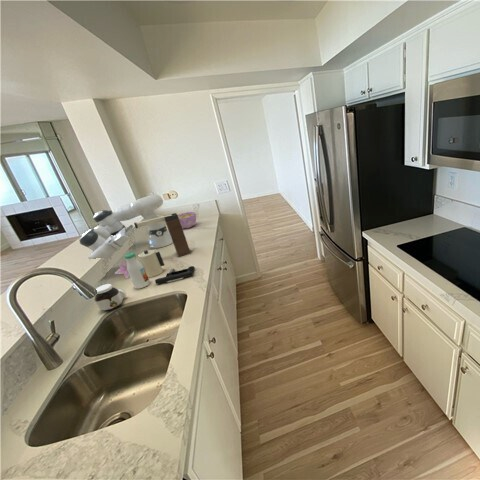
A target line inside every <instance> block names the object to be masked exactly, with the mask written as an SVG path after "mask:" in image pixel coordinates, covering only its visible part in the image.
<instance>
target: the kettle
mask: <svg viewBox="0 0 480 480" xmlns="http://www.w3.org/2000/svg"><path fill="white" fill-rule="evenodd" d="M137 257H138V258H136V259H137V260H138V261H139V262H140V263H141V264H142V265H143V267H144V269H145V271H146V274H147V276H148V278H151V277H152V278H153V277H156V276H159V275H160V274H162V273H163V272H164V271H163V268H162V267H163V266H165V263H164V260H163V258H162V255H161V252H160V251H155V250H154V249H149V250H148V249H147V250H144V251H142V252H141V253H138V255H137Z"/></svg>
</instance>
